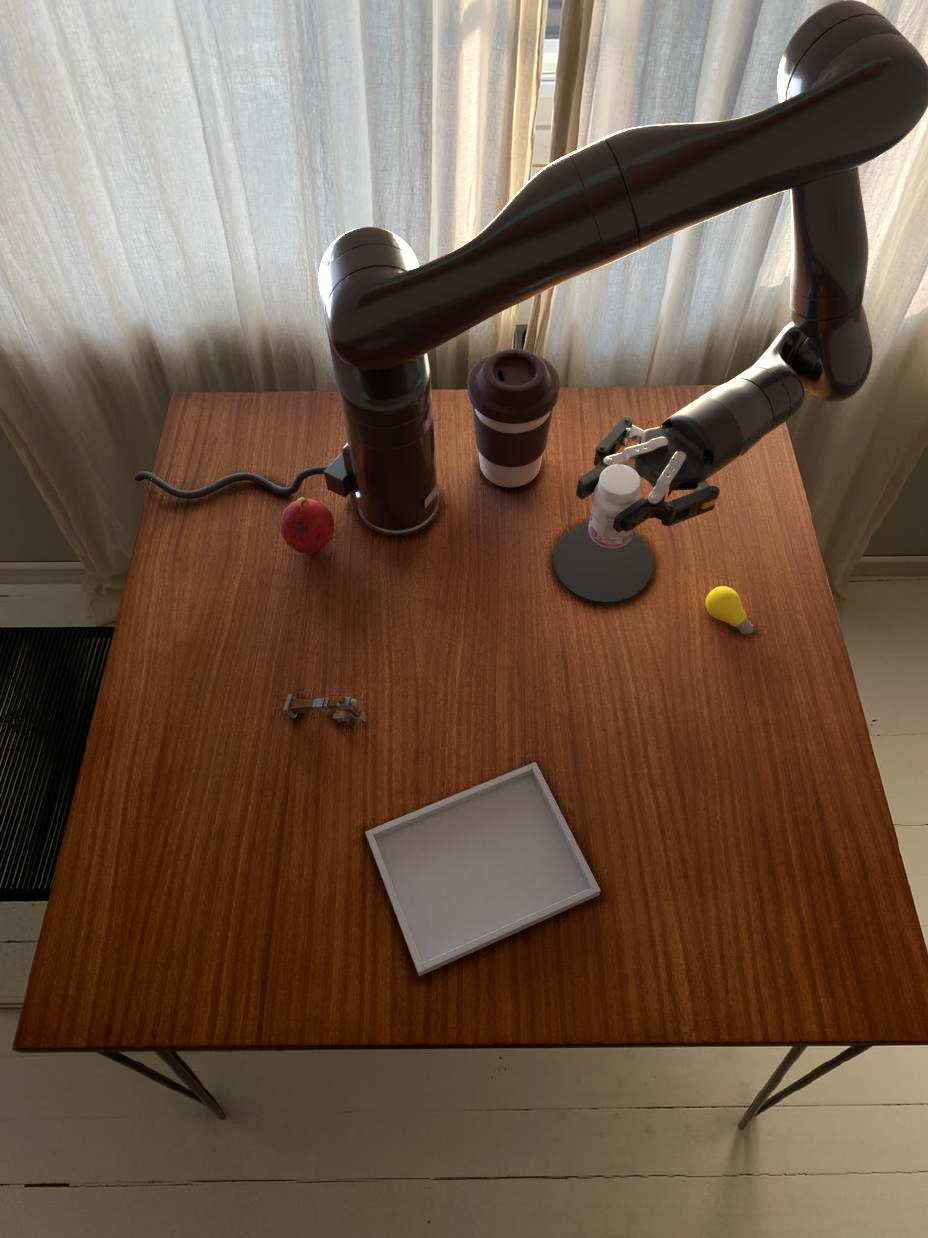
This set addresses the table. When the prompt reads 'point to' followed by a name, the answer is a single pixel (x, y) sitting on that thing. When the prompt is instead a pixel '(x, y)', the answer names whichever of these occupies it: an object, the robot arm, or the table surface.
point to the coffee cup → (512, 413)
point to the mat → (601, 567)
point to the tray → (480, 867)
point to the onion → (307, 525)
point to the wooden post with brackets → (326, 707)
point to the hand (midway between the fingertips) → (598, 508)
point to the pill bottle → (613, 504)
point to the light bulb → (728, 608)
